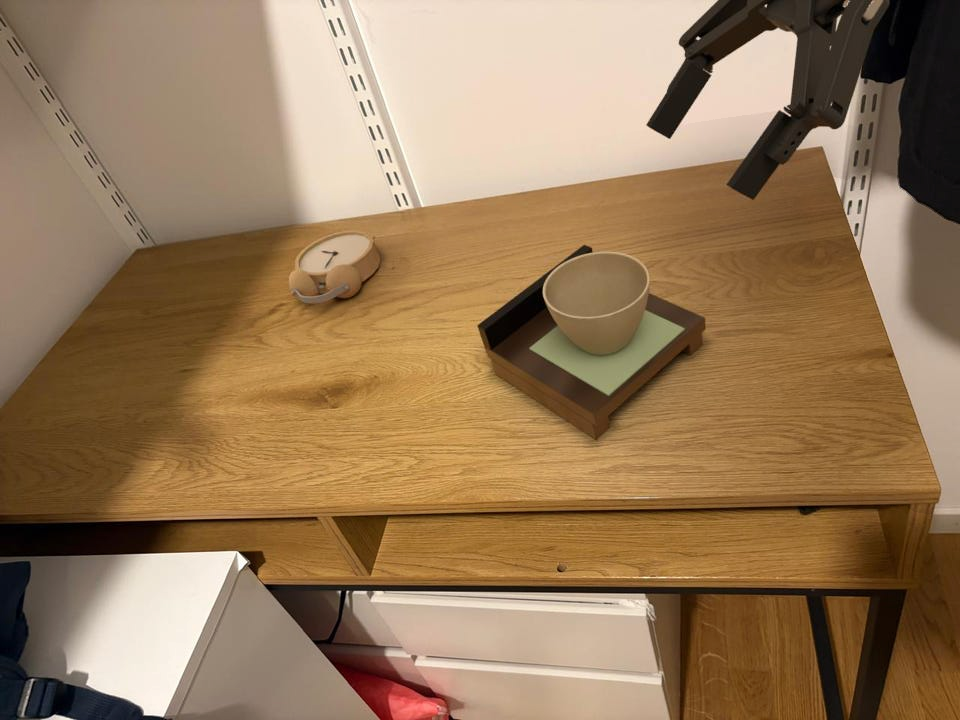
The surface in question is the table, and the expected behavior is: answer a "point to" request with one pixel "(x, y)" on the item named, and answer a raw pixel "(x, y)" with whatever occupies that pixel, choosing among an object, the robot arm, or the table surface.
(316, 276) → the alarm clock
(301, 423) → the table surface
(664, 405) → the table surface
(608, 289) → the flower pot
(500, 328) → the tray
